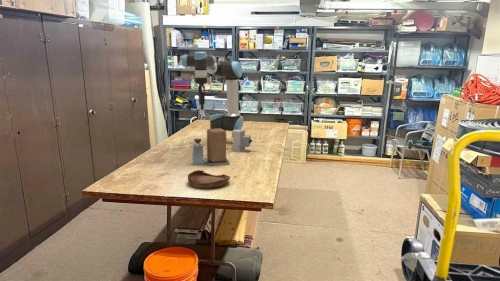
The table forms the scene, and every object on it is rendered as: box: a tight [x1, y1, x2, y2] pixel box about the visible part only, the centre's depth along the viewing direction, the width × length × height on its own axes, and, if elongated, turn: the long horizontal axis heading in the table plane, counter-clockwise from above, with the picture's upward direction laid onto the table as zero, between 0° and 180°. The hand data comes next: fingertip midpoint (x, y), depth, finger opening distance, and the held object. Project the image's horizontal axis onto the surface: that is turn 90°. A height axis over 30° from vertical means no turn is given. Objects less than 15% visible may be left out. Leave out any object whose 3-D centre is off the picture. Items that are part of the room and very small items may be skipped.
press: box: [192, 143, 230, 167], centre depth 218 cm, size 14×22×12 cm, turn 106°
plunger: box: [194, 138, 202, 146], centre depth 214 cm, size 4×4×10 cm
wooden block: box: [206, 128, 227, 162], centre depth 218 cm, size 10×10×20 cm
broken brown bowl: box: [187, 169, 231, 189], centre depth 181 cm, size 22×20×5 cm
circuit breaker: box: [231, 129, 253, 153], centre depth 249 cm, size 8×14×15 cm, turn 78°
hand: (202, 114), depth 217 cm, fingers closed
